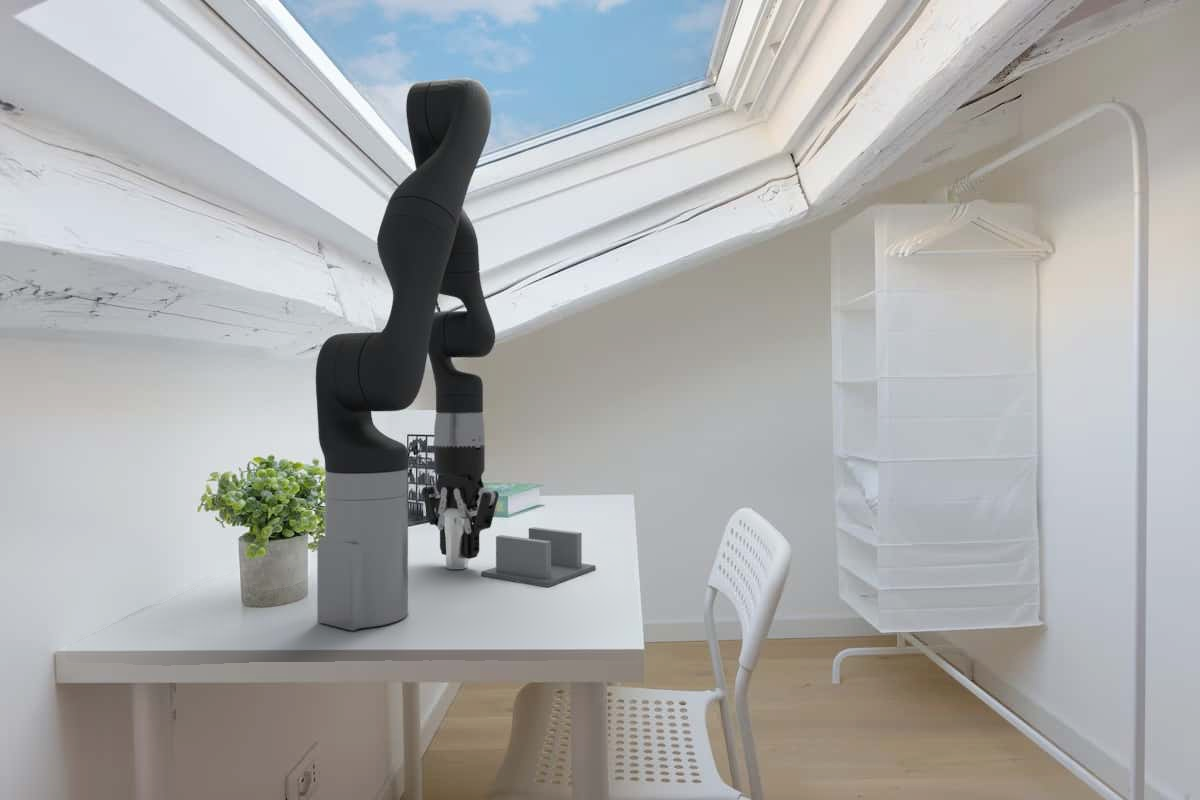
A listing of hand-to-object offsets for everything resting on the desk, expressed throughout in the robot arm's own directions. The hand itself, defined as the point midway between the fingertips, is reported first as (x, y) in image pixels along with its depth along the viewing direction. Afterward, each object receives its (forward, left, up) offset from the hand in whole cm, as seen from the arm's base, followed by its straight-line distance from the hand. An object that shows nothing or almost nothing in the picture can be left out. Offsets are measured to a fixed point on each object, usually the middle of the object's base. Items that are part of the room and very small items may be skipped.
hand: (459, 555), depth 108 cm
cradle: (+4, -12, -2) cm, 13 cm away
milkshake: (0, 0, -2) cm, 2 cm away
